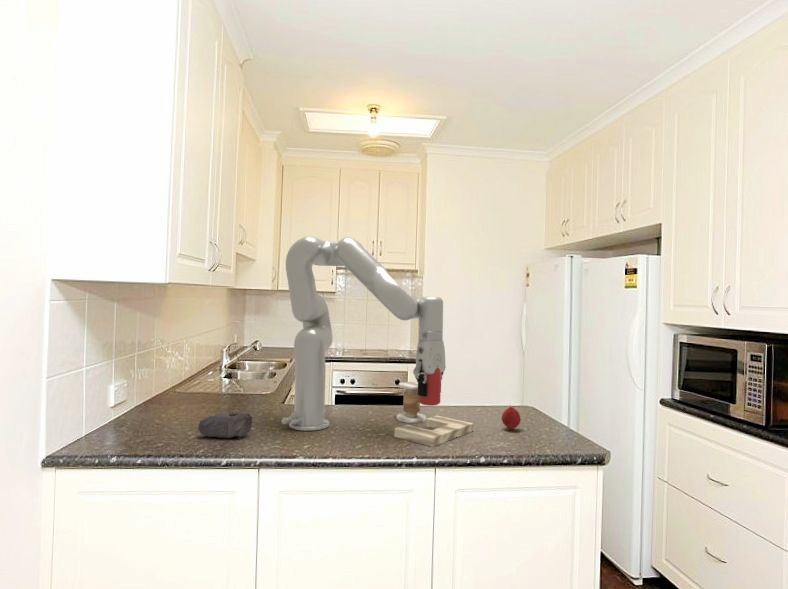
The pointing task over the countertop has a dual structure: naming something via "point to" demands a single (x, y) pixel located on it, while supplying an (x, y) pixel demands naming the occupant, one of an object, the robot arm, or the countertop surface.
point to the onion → (511, 418)
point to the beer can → (432, 389)
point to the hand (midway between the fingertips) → (429, 393)
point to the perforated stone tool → (226, 425)
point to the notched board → (434, 431)
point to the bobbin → (411, 404)
